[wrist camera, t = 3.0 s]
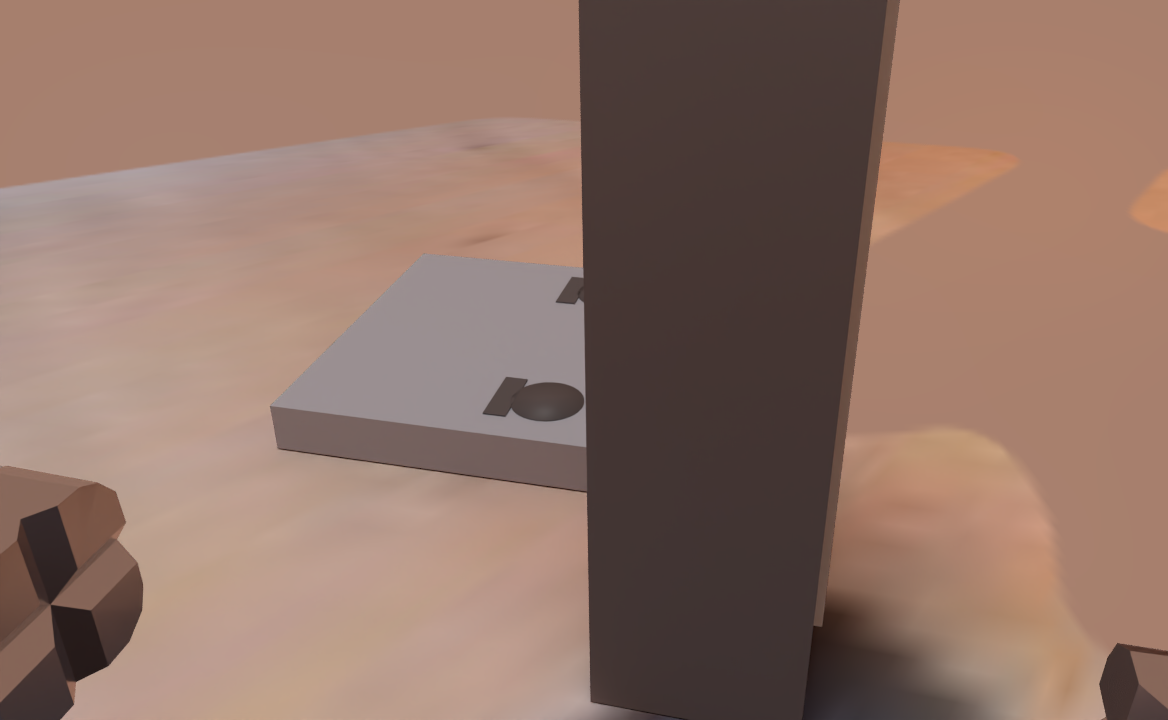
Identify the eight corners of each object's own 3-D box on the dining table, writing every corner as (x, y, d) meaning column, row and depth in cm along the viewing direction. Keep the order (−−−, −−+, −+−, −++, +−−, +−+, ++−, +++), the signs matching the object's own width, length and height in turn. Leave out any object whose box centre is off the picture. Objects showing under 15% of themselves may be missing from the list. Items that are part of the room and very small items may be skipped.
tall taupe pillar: (590, 701, 23) (571, -437, 13) (638, 558, 27) (649, -383, 17) (811, 742, 22) (964, -466, 12) (824, 586, 26) (945, -400, 16)
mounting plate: (277, 448, 32) (269, 404, 31) (426, 288, 42) (423, 252, 41) (811, 523, 28) (816, 475, 27) (833, 327, 38) (837, 289, 38)
